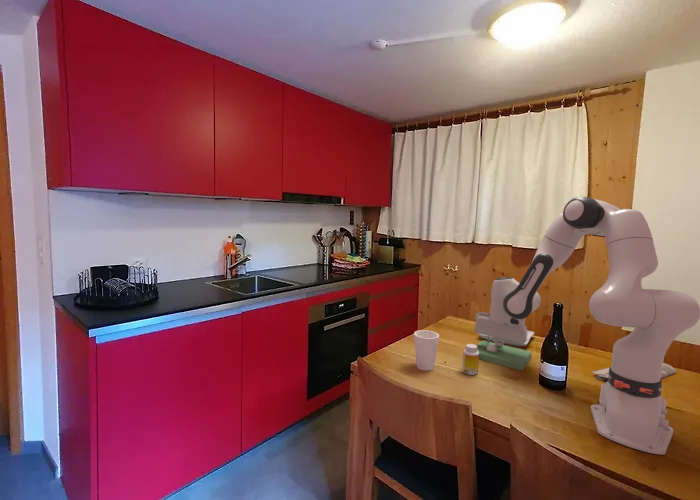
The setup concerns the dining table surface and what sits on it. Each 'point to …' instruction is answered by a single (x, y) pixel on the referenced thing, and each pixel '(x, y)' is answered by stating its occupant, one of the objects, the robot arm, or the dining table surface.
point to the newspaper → (665, 372)
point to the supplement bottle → (470, 359)
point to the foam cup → (426, 348)
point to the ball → (491, 348)
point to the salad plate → (529, 335)
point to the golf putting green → (504, 355)
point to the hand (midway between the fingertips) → (499, 347)
